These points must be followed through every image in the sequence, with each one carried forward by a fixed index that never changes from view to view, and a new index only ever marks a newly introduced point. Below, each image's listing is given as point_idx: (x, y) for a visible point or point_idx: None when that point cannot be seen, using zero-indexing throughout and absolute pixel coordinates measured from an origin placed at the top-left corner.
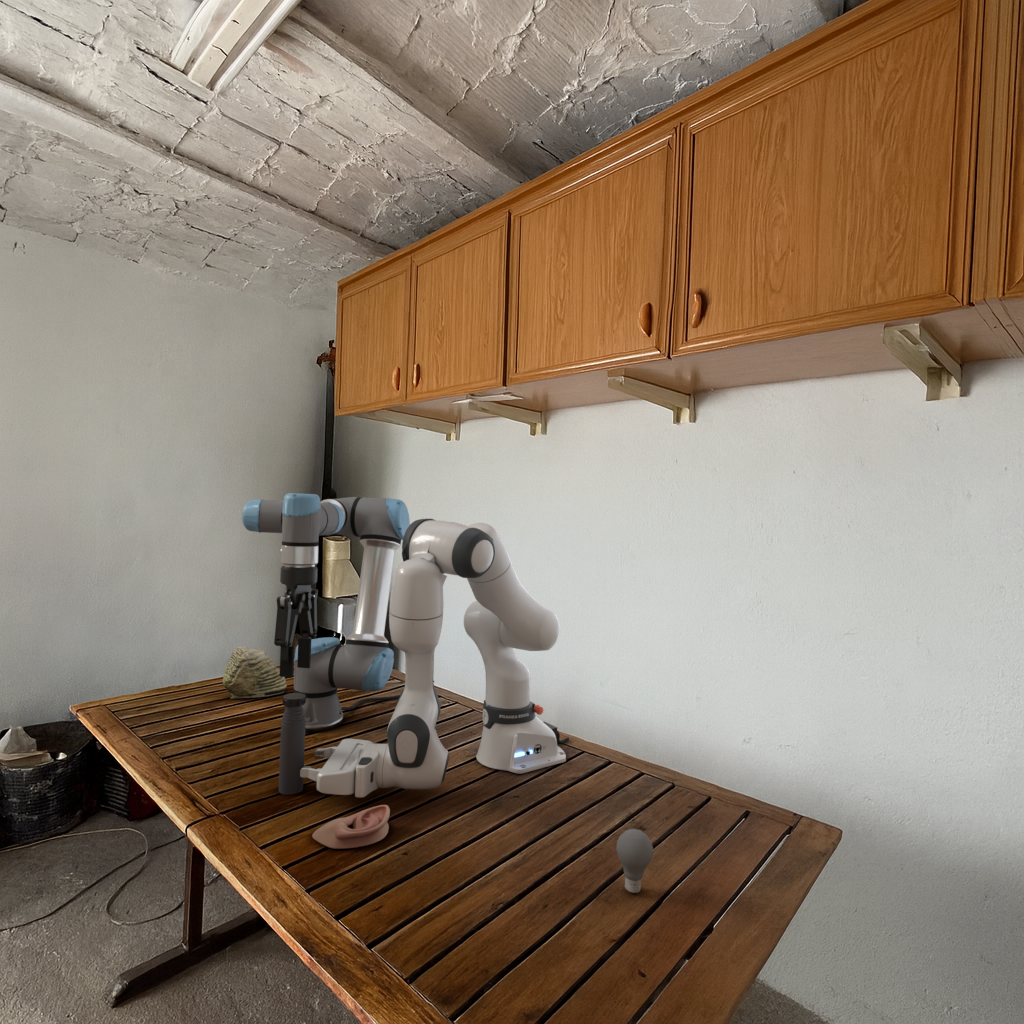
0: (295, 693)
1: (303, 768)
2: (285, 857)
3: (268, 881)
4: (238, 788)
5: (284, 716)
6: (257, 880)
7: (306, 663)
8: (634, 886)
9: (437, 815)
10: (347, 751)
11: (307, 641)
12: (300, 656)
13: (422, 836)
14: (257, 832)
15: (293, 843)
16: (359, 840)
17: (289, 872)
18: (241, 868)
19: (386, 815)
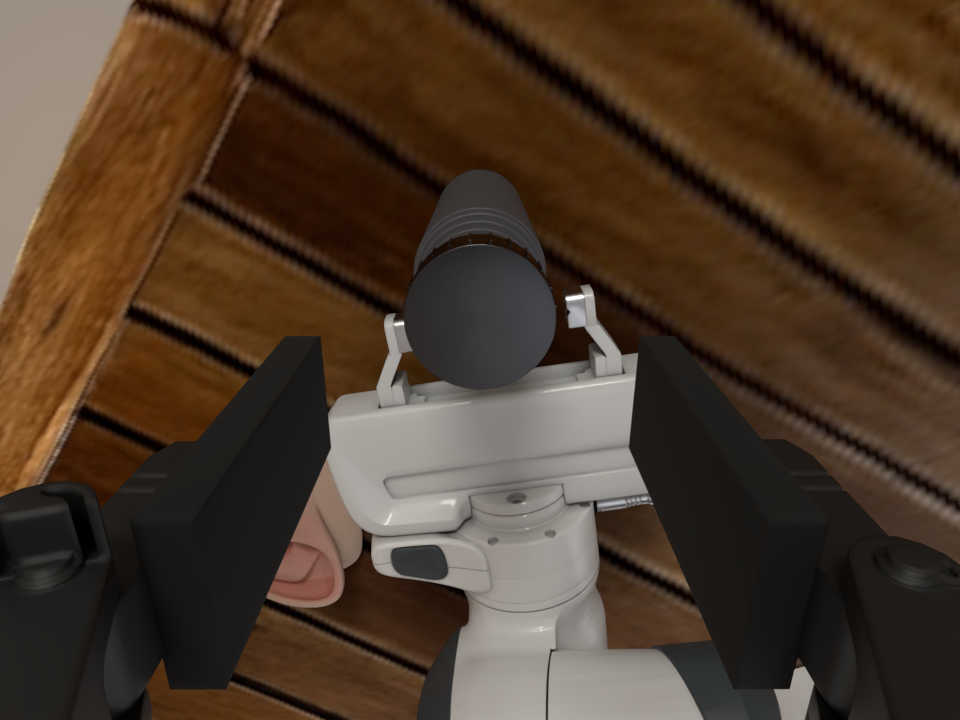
0: (537, 298)
1: (388, 333)
2: (120, 393)
3: (18, 404)
4: (437, 5)
5: (430, 251)
6: (8, 379)
7: (639, 449)
8: None
9: (440, 645)
10: (550, 441)
11: (720, 627)
12: (665, 418)
13: (333, 639)
14: (193, 257)
15: (185, 381)
16: None
17: (71, 432)
18: (27, 314)
19: (296, 605)
